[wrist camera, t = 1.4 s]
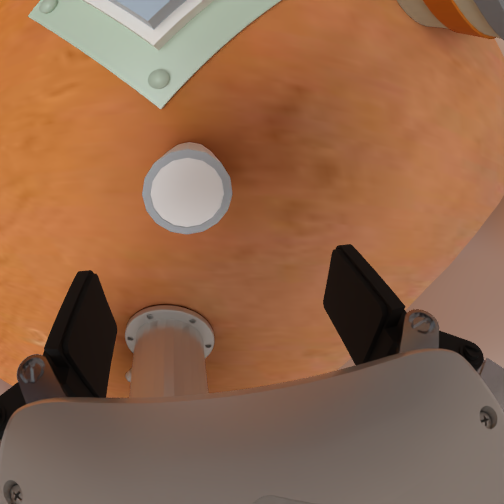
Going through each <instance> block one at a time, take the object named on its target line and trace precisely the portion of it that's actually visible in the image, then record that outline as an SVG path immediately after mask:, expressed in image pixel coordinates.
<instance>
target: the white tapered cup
mask: <svg viewBox="0 0 504 504" xmlns="http://www.w3.org/2000/svg"><path fill="white" fill-rule="evenodd" d="M142 196H143V200H144V203H145V207H146V211H147V212H148V213H149V215H150V216H151V217H152V218H153V220H154V221H155V222H156V223H157V224H158V225H160V226H162V227H163V228H165V229H167V230H169V231H170V232H176V233H182V234H192V233H197V232H202V231H205V230H207V229H208V228H210V227H212V226H213V225H215V224H217V223H218V222H219V221H220V219H221V218H222V217H223V215H224V214H225V213H226V212H227V210H228V208H229V204H230V201H231V197H232V187H231V180H230V176H229V175H228V173H227V171H226V170H225V168H224V167H223V165H222V163H221V162H220V161H219V160H218V159H217V158H216V156H215V155H214V154H213V153H212V152H211V151H210V150H209V149H207V148H206V147H204V146H203V145H202V144H198V143H192V142H187V143H182V144H178V145H176V146H175V147H173V148H172V149H170V150H169V151H168V152H167V153H165V154H164V155H163V156H162V157H161V158H160V159H158V160H157V161H156V162H155V163H154V164H153V166H152V167H151V169H150V171H149V172H148V174H147V175H146V177H145V180H144V186H143V193H142Z"/></svg>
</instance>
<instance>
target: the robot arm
mask: <svg viewBox="0 0 504 504" xmlns="http://www.w3.org/2000/svg"><path fill="white" fill-rule="evenodd" d="M323 304H324V308H325V310H326V312H327V314H328V315H329V317H330V319H331V321H332V323H333V324H334V326H335V328H336V330H337V332H338V334H339V335H340V337H341V339H342V341H343V343H344V344H345V346H346V348H347V350H348V352H349V354H350V356H351V357H352V359H353V361H354V363H355V365H356V366H352V367H348V368H345V369H341V370H337V371H333V372H329V373H325V374H321V375H317V376H312V377H308V378H303V379H298V380H293V381H288V382H283V383H278V384H272V385H267V386H261V387H255V388H248V389H241V390H234V391H226V392H218V393H209V392H208V384H207V374H206V365H205V358H206V357H207V356H208V355H209V354H210V353H211V351H212V349H213V346H214V333H213V330H212V327H211V326H210V324H209V323H208V322H207V320H205V319H204V318H203V317H202V316H201V315H199V314H197V313H196V312H194V311H191V310H189V309H187V308H183V307H179V306H171V305H158V306H153V307H149V308H146V309H143V310H141V311H139V312H138V313H136V314H135V315H134V316H133V317H131V319H130V320H129V322H128V323H127V327H126V331H125V340H126V343H127V345H128V347H129V349H130V350H131V352H132V353H133V354H134V355H133V363H132V368H131V369H130V370H129V371H128V372H127V373H126V375H125V376H126V379H127V380H128V381H129V382H131V383H130V395H129V398H106V393H107V386H108V379H109V373H110V366H111V361H112V355H113V349H114V344H115V339H116V334H117V325H116V322H115V320H114V317H113V315H112V312H111V310H110V307H109V305H108V302H107V300H106V297H105V294H104V292H103V289H102V286H101V283H100V281H99V278H98V275H97V274H94V273H93V272H92V271H91V270H89V271H79V272H78V273H77V274H76V276H75V278H74V280H73V282H72V284H71V286H70V288H69V291H68V293H67V295H66V297H65V299H64V301H63V303H62V306H61V308H60V310H59V313H58V315H57V317H56V320H55V322H54V324H53V327H52V329H51V332H50V334H49V337H48V339H47V342H46V345H45V347H44V350H45V351H44V353H43V356H42V355H39V354H34V355H31V356H29V357H27V358H26V359H24V360H23V361H22V363H21V364H20V365H19V368H18V370H17V380H18V383H16V384H15V385H14V386H12V387H11V388H10V389H8V390H7V391H6V392H5V393H3V394H2V395H1V396H0V504H504V369H503V368H502V367H501V366H499V365H497V364H496V363H494V362H493V361H491V360H490V359H488V358H486V360H484V358H483V353H482V351H481V350H480V348H479V347H478V346H477V345H476V344H474V343H472V342H470V341H467V340H465V339H462V338H459V337H456V336H453V335H450V334H447V333H445V332H441V331H439V325H438V322H437V320H436V319H435V318H434V317H433V316H432V315H431V314H430V313H428V312H426V311H424V310H419V309H416V310H411V311H409V312H408V313H406V311H405V310H404V308H405V305H404V304H403V303H402V302H401V301H400V299H399V298H398V297H397V296H396V295H395V293H394V292H393V291H392V290H391V289H390V287H389V286H388V285H387V284H386V283H385V282H384V280H383V279H382V278H381V277H380V276H379V275H378V273H377V272H376V271H375V270H374V269H373V268H372V267H371V266H370V264H369V263H368V262H367V261H366V260H365V259H364V258H363V257H362V255H361V254H360V253H359V252H358V251H357V250H356V249H355V248H354V247H353V246H352V245H351V244H348V245H339V246H337V247H336V249H334V250H333V252H332V256H331V262H330V268H329V274H328V279H327V284H326V290H325V295H324V300H323Z"/></svg>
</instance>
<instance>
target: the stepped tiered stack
mask: <svg viewBox="0 0 504 504" xmlns="http://www.w3.org/2000/svg"><path fill="white" fill-rule="evenodd" d="M280 1H282V0H40V1H39V3H38V4H37V5H36V6H35V8H34V9H33V10H32V12H31V13H30V14H29V16H28V17H30V18H31V19H33V20H35V21H36V22H38V23H39V24H41V25H43V26H44V27H46V28H47V29H49V30H51V31H52V32H54V33H55V34H57V35H58V36H60V37H61V38H63V39H64V40H66V41H67V42H69V43H71V44H72V45H73V46H75V47H76V48H78V49H79V50H81V51H82V52H84V53H85V54H87V55H88V56H90V57H91V58H92V59H94V60H95V61H97V62H98V63H100V64H101V65H102V66H104V67H105V68H107V69H108V70H109V71H111V72H112V73H114V74H115V75H116V76H118V77H119V78H120V79H122V80H123V81H124V82H126V83H127V84H128V85H130V86H131V87H132V88H134V89H135V90H136V91H138V92H139V93H140V94H142V95H143V96H144V97H146V98H147V99H148V100H150V101H151V102H152V103H153V104H155V105H156V106H157V107H159V108H160V109H162V108H163V107H164V106H165V105H166V104H167V102H168V101H169V100H170V99H171V98H172V97H173V96H174V95H175V94H176V93H177V91H178V90H179V89H180V88H181V87H182V86H183V85H184V84H185V83H186V82H187V81H188V80H189V79H190V78H191V77H192V76H193V75H194V74H195V73H196V72H197V71H198V70H199V69H200V68H201V67H202V66H203V65H204V64H205V63H206V62H207V61H208V60H209V59H210V58H211V57H212V56H213V55H214V54H215V53H217V52H218V51H219V50H220V49H221V48H222V47H223V46H224V45H225V44H227V43H228V42H229V41H230V40H231V39H232V38H234V37H235V36H236V35H237V34H238V33H239V32H241V31H242V30H243V29H244V28H246V27H247V26H248V25H249V24H251V23H252V22H253V21H254V20H256V19H257V18H258V17H260V16H261V15H262V14H264V13H265V12H266V11H268V10H269V9H270V8H272V7H273V6H274V5H276V4H277V3H279V2H280Z"/></svg>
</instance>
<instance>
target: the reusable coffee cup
mask: <svg viewBox="0 0 504 504" xmlns="http://www.w3.org/2000/svg"><path fill="white" fill-rule="evenodd" d="M397 1H398V3H399V4H400V6H401V7H402V9H403V10H404V11H405V12H406V13H407V14H408V15H409V16H410V17H411V18H412V19H413V20H415V21H416V22H418V23H420V24H422V25H424V26H429V27H439V28H448V29H450V30H452V31H454V32H457V33H462V34H468V35H473V36H478V37H483V38H487V39H494V38H496V37H497V38H501V39H503V40H504V0H397Z"/></svg>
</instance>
